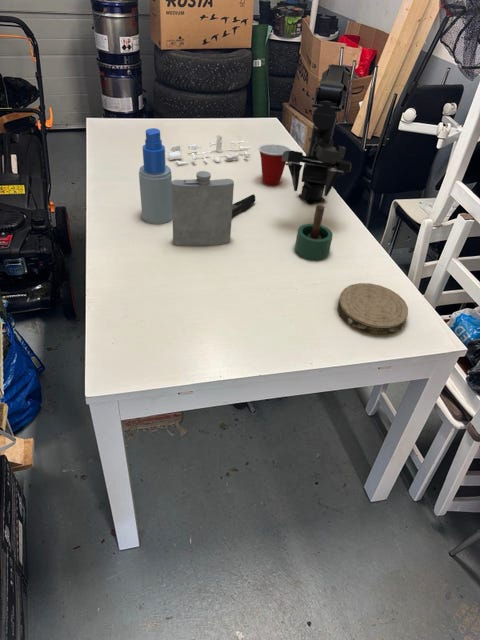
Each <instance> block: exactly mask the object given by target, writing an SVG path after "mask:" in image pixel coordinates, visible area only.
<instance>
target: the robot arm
mask: <svg viewBox="0 0 480 640" xmlns="http://www.w3.org/2000/svg"><path fill="white" fill-rule="evenodd" d="M346 69H347V67H346V66H344V65H343V64H333V63H330V64H328V67H327V69H326V70H325V71H323V72H322V73H321V78H320V83H319V86H316V88H315V93H314V97H313V101H312V105H311V108H312V109H315V110H314V112H313V114H312V128H311V134H310V137H309V138H308V142H309V146H308V151H307V152H306V153H305V155H304V154H303V152H302V151H296V150H292V149H291V150H290V151H285V152H284V153H283V155H282V161H284V162H286V163H285V166H287V167H288V169H289V173H290V177H291V181H292V186H293V191H294V192H298V189H299V181H300V174H301V170H302V175H301V183H303V185H302V186H301V193H300V194H298V197H299V198H300V199H301V200H303V201H304V202H305V203H306V204H308V205H314V204H319V203H324V202H326V199H325V198H324V197H328V195H329V193H330V191H331V190H332V188H333V186H334V184H335V183H336V182H337V180H338V179H339V178H340V177H341V176H343V175H346V173H351V169H352V163H351V161H349V160H345V159H344V157H345V154H346V147H345V146H342V145H337V146H334V142H335V141H334V139H333V136H334V131H335V125H336V121H337V114H336V112H338V113H341V112H342V110H345V106H346V101H347V93H348V87H349V83H350V75H349V74H348V72H347V70H346ZM301 163H303V164H301ZM302 167H303V168H302ZM323 196H324V197H323Z"/></svg>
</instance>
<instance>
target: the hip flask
mask: <svg viewBox="0 0 480 640" xmlns="http://www.w3.org/2000/svg"><path fill="white" fill-rule="evenodd" d="M195 176H196V178H193V179H191V178H190V179H172V182H171V184H172V219H171V220H172V243H173V244H174V245H175V246H179V247H180V246H181V247H203V246H206V247H207V246H217V245H224V244H229V243H230V242H231V235H232V234H231V233H232V232H231V231H232V219H233V216H232V205H233V204H234V189H235V187H234V186H235V180H233V179H232V178H221V179H220V178H219V179H211V178H212V175H211V173H210V172H209V171H207V170H206V171H205V170H200V171H197V172H196V175H195Z"/></svg>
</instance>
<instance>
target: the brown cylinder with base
mask: <svg viewBox="0 0 480 640" xmlns="http://www.w3.org/2000/svg"><path fill="white" fill-rule="evenodd" d="M324 213H325V206H324V205H321V204H316V206H315V211H314V214H313V215H314V216H313V221H312V224H313V225H312V230H311V234H308V235H307V237H309V238H312V239H322V238H321V236H320V235H319V232H320V227H321V225H322V222H323V221H322V220H323V217H324Z"/></svg>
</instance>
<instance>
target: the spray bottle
mask: <svg viewBox="0 0 480 640" xmlns="http://www.w3.org/2000/svg"><path fill="white" fill-rule="evenodd" d="M141 149H142V158H143V159H142V160H143V161H142V163H143V165H141V166H140V167H139V169H138V180H139V194H140V206H141V207H140V208H141V218H142V220H143V221H144V222H146V223H148V224H152V225H163V224H167V223H169V222H170V221H172V220H173V219H172V184H171V182H172V181H173V179H172V170H171V168H170V166H168V165H166V164H167V163H166V146H165V145H164V144H163V141H162V139H161V129H158V128H153V127H152V128H147V129H145V139H144V144H143V145H142V148H141Z"/></svg>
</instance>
